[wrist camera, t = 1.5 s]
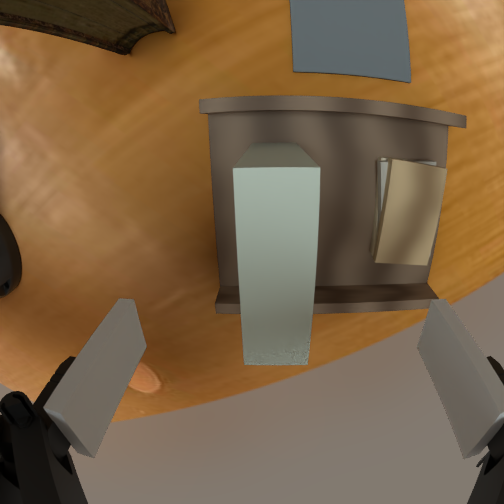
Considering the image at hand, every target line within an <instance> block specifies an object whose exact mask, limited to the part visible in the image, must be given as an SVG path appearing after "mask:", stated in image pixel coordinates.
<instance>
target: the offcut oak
mask: <svg viewBox="0 0 504 504" xmlns="http://www.w3.org/2000/svg"><path fill="white" fill-rule="evenodd" d="M446 175H447V169H446V168H443V167H439V166H434V165H429V164H424V163H418V162H413V161H407V160H401V159H395V158H389V159H388V168H387V175H386V183H385V190H384V197H383V203H382V209H381V215H380V221H379V227H378V232H377V238H376V243H375V248H374V253H373V260H374V261H375V263H391V264H409V265H426V266H427V264H428V260H429V256H430V252H431V248H432V245H433V240H434V236H435V232H436V228H437V223H438V219H439V214H440V209H441V204H442V199H443V193H444V187H445V181H446Z"/></svg>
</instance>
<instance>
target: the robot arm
mask: <svg viewBox="0 0 504 504" xmlns="http://www.w3.org/2000/svg"><path fill="white" fill-rule="evenodd" d="M20 278H21V260H20V255H19V251H18V247H17V244H16V241H15V239H14V236H13V234H12V232H11V230H10V228H9V227H8V225H7V223H6V222H5V220H4V219H3V218H2V216H1V215H0V298H2V297H5V296H6V295H8V294H9V293H10V292H11V291H13V290H14V289H15V288H16V287H17V285H18V284H19V281H20ZM146 347H147V345H146V342H145V339H144V335H143V332H142V328H141V324H140V321H139V317H138V313H137V309H136V306H135V302H134V299H120V298H119V299H118V301H117V302H116V303H115V305H114V306H113V307H112V309H111V310H110V311H109V313H108V314H107V315H106V317H105V318H104V319H103V321H102V322H101V323H100V325H99V326H98V328H97V329H96V330H95V332H94V333H93V334H92V336H91V337H90V339H89V340H88V341H87V343H86V344H85V346H84V347H83V349H82V350H81V351H80V353H79V354H78V356H77V357H72V356H70V357H69V358H68V359H66V360H65V361H64V362H62V363H61V364H60V366H59V367H58V369H57V370H56V372H55V374H53V376H52V377H51V379H50V382H48V383H47V385H46V386H45V387H44V389H43V390H42V392H41V393H40V395H39V396H38V398H37V399H36V401H35V403H34V404H32V403H31V401H30V400H29V398H28V397H27V395H25V394H24V393H23V392H20V391H14V392H11V393H9V394H6V395H5V396H4V397H3V398H2V400H1V401H0V412H1V414H2V415H0V504H88V502H87V500H86V497H85V495H84V492H83V489H82V487H81V484H80V481H79V478H78V476H77V473H76V470H75V467H74V464H73V461H72V458H71V455H70V453H69V451H68V449H69V447H70V445H72V447H73V448H74V449H75V450H76V451H77V453H80V454H83V455H86V456H89V457H92V458H95V455H96V453H97V451H98V449H99V446H100V444H101V442H102V439H103V437H104V435H105V433H106V431H107V429H108V426H109V424H110V422H111V420H112V418H113V416H114V413H115V411H116V409H117V407H118V405H119V403H120V401H121V398H122V396H123V394H124V392H125V390H126V388H127V386H128V384H129V382H130V380H131V378H132V376H133V374H134V372H135V369H136V367H137V365H138V363H139V361H140V359H141V357H142V355H143V353H144V351H145V349H146ZM417 349H418V351H419V353H420V355H421V357H422V359H423V361H424V364H425V366H426V368H427V370H428V372H429V374H430V377H431V379H432V381H433V383H434V385H435V388H436V390H437V392H438V395H439V397H440V399H441V401H442V404H443V406H444V409H445V411H446V414H447V416H448V419H449V421H450V424H451V426H452V429H453V431H454V434H455V437H456V439H457V442H458V444H459V447H460V450H461V453H462V456H463V458H464V459H465V458H469V457H471V456H474V455H477V454H479V453H480V452H481V451H482V450H483V449H484V448H485V447H486V446H488V448H489V452H488V453H487V454H486V455H485V456H484V457H483V458H482V460H480V461H479V462H478V464H477V466H476V467H479V466H480V465H481V464H482V463H483V465H482V468H481V471H480V474H479V476H478V479H477V482H476V484H475V486H474V489H473V491H472V493H471V496H470V498H469V500H468V503H467V504H504V370H503V368H502V366H501V365H500V364H499V363H498V362H497V361H496V360H495V359H493V358H492V357H491V356H489V357H486V356H485V355H484V353H483V352H482V350H481V349H480V348H479V346H478V344H477V343H476V341H475V340H474V338H473V337H472V335H471V334H470V332H469V331H468V329H467V328H466V327H465V325H464V324H463V322H462V321H461V320H460V318H459V317H458V315H457V314H456V313H455V311H454V310H453V309H452V307H451V306H450V305H449V303H448V302H447V301H446V299H436V300H431V304H430V307H429V311H428V314H427V317H426V321H425V324H424V327H423V330H422V333H421V336H420V339H419V342H418V345H417Z"/></svg>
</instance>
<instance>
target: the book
mask: <svg viewBox="0 0 504 504" xmlns="http://www.w3.org/2000/svg"><path fill="white" fill-rule="evenodd" d="M0 25H4V26H10V27H16V28H22V29H27V30H32V31H37V32H42V33H46V34H51V35H55V36H59V37H63V38H67V39H71V40H74V41H78V42H82V43H85V44H89V45H92V46H96V47H99V48H102V49H105V50H109V51H112V52H115V53H118V54H121V55H127V54H129V53H130V52H131V48H132V47H133V45H134V44H135V43H136V42H137V41H138V40H139V39H140V38H142V37H143V36H145V35H147V34H149V33H152V32H156V31H167V32H168V33H170V34H172V33H174V32H175V28H174V25H173V22H172V19H171V16H170V13H169V9H168V6H167V4H166V1H165V0H0Z"/></svg>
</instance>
